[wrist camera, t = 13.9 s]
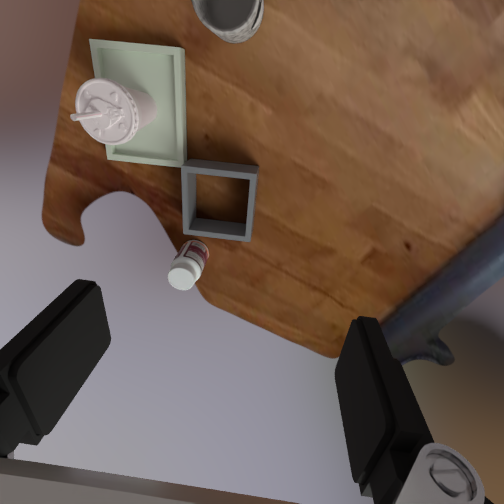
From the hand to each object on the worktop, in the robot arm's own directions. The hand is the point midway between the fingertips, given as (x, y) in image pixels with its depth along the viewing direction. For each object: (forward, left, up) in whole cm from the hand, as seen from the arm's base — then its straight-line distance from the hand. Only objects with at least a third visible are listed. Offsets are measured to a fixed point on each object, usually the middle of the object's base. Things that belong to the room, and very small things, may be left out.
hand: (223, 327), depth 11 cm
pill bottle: (+17, -10, -34) cm, 40 cm away
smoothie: (-4, -17, -34) cm, 38 cm away
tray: (-4, -17, -34) cm, 38 cm away
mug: (-17, -6, -35) cm, 39 cm away
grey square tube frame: (+7, -6, -34) cm, 36 cm away
